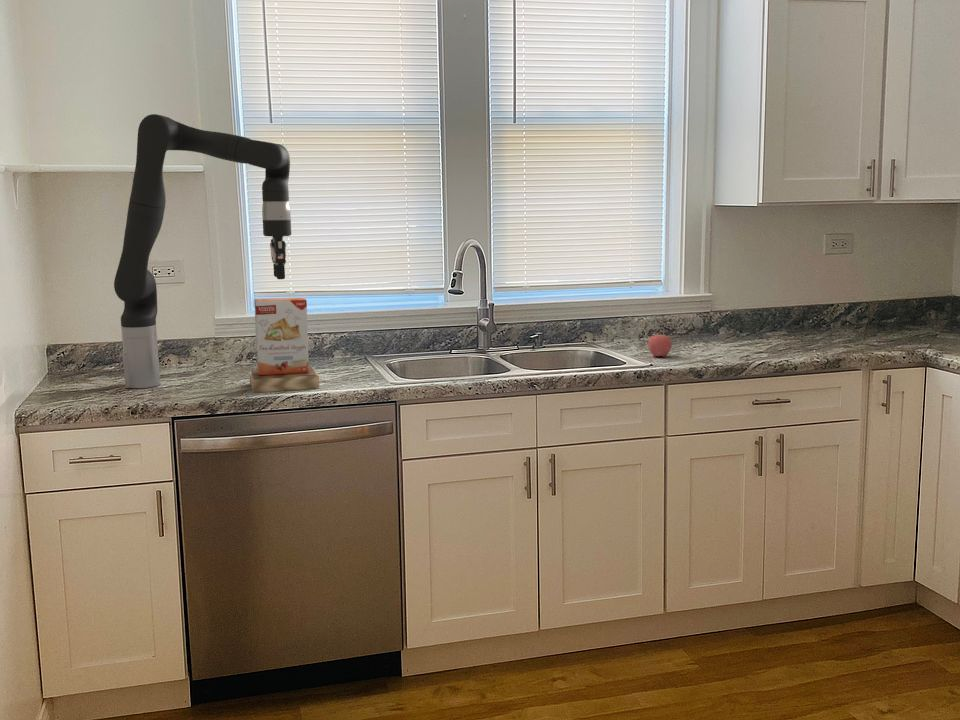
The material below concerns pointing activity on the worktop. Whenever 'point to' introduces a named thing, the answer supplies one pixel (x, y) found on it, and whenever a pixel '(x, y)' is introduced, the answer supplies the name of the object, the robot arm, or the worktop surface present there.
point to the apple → (659, 345)
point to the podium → (284, 381)
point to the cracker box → (281, 336)
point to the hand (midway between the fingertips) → (279, 277)
